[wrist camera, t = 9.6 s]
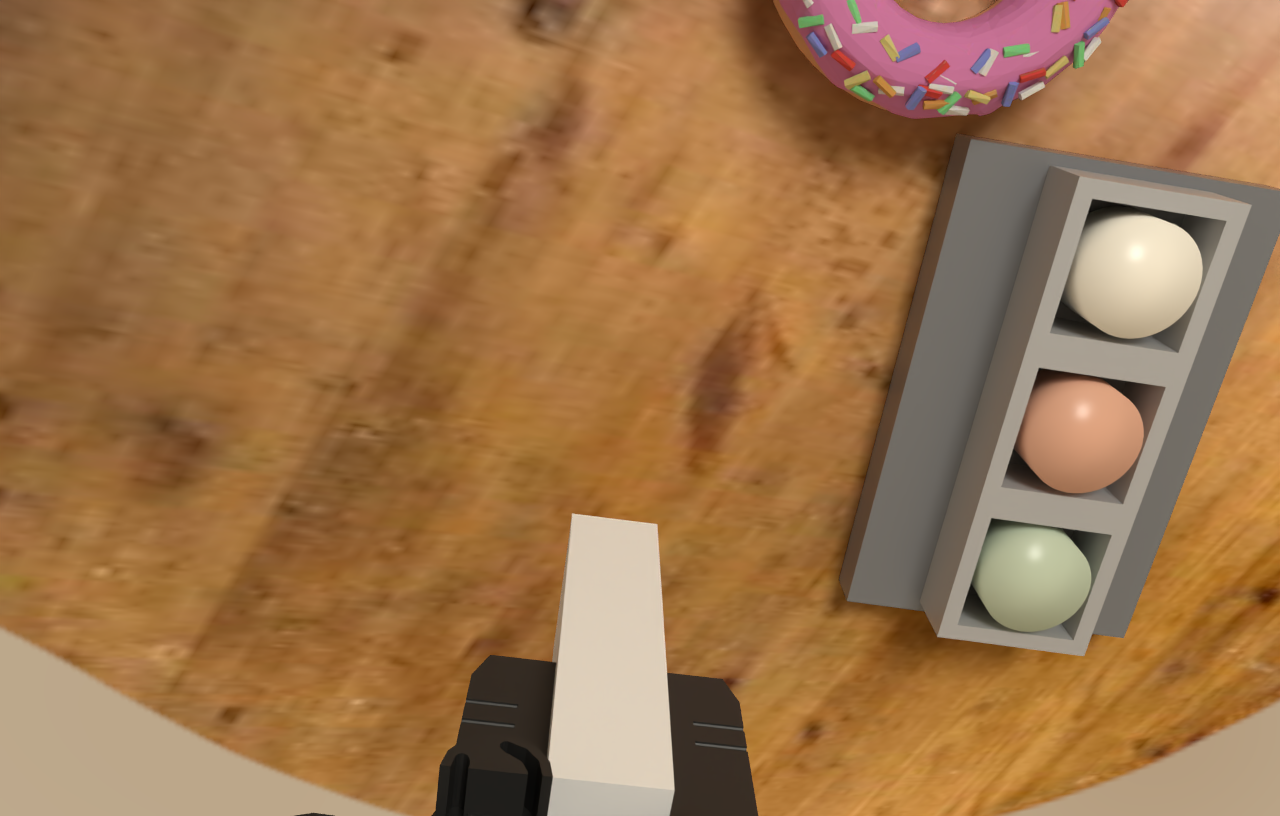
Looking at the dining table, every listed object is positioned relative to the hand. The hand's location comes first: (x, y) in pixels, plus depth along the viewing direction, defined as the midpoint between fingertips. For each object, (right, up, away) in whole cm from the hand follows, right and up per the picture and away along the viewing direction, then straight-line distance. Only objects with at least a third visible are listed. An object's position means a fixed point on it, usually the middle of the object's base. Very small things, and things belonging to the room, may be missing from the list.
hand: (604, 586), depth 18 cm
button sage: (+18, -4, +30) cm, 36 cm away
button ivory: (+20, +9, +25) cm, 34 cm away
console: (+19, +4, +30) cm, 36 cm away
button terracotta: (+19, +3, +28) cm, 34 cm away
